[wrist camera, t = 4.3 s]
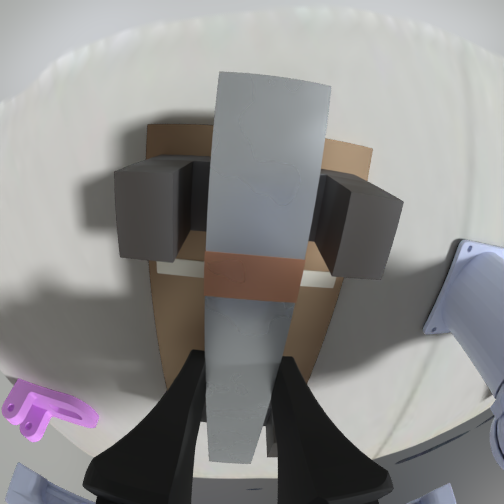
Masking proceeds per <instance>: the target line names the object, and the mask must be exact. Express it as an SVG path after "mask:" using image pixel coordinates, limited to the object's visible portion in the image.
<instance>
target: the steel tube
mask: <svg viewBox="0 0 504 504" xmlns="http://www.w3.org/2000/svg"><path fill="white" fill-rule="evenodd" d="M330 95H331V86H328V85H324V84H319V83H314V82H309V81H303V80H297V79H291V78H284V77H277V76H269V75H260V74H250V73H236V72H219V79H218V88H217V97H216V106H215V116H214V127H213V138H212V150H211V163H210V177H209V193H208V211H207V232H206V249H205V256H204V296H205V361H206V414H207V434H208V450H209V461H212V462H224V463H240V464H251V461H252V458H253V455H254V452H255V449H256V446H257V443H258V440H259V436H260V433H261V430H262V427H263V423H264V420H265V417H266V413H267V410H268V407H269V403H270V400H271V394H272V391H273V387H274V383H275V380H276V376H277V372H278V369H279V365H280V363H281V359H282V355H283V352H284V348H285V344H286V340H287V336H288V331H289V327H290V323H291V319H292V315H293V310H294V306H295V303H296V302H297V298H298V293H299V289H300V284H301V280H302V275H303V271H304V266H305V261H306V260H305V255H306V250H307V245H308V240H309V234H310V229H311V224H312V218H313V213H314V207H315V201H316V195H317V189H318V183H319V177H320V171H321V164H322V157H323V150H324V143H325V136H326V128H327V120H328V112H329V104H330Z"/></svg>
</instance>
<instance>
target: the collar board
mask: <svg viewBox="0 0 504 504" xmlns="http://www.w3.org/2000/svg"><path fill="white" fill-rule="evenodd" d="M213 127H214V125H196V124H148V125H147V144H146V160H144V161H141V162H138V163H136V164H133V165H130V166H128V167H125V168H123V169H120V170H118V171H115V172H114V179H115V205H116V221H117V233H118V243H119V252H120V257H122V258H131V259H141V260H149V272H150V283H151V293H152V301H153V310H154V317H155V325H156V332H157V338H158V344H159V350H160V356H161V362H162V367H163V373H164V378H165V383H166V387H167V390H168V389H169V387H170V386H171V384H172V383H173V381H174V380H175V378H176V377H177V375H178V374H179V372H180V370H181V369H182V367H183V365H184V363H185V361H186V359H187V357H188V355H189V353H190V351H191V350H193V349H194V350H203V351H205V296H204V256H205V249H206V232H207V211H208V193H209V177H210V163H211V150H212V138H213ZM372 151H373V149H372V148H368V147H364V146H360V145H355V144H351V143H346V142H341V141H336V140H331V139H326V138H325V143H324V150H323V157H322V164H321V171H320V177H319V183H318V189H317V195H316V201H315V207H314V213H313V218H312V224H311V229H310V234H309V240H308V245H307V250H306V255H305V260H306V261H305V266H304V271H303V275H302V280H301V284H300V289H299V293H298V298H297V302H296V303H295V306H294V310H293V315H292V319H291V323H290V327H289V331H288V336H287V340H286V344H285V348H284V352H283V355H282V356H292V357H293V358H294V360H295V362H296V364H297V366H298V368H299V370H300V372H301V374H302V376H303V378H304V380H305V382H306V384H307V382H308V380H309V378H310V375H311V372H312V370H313V367H314V365H315V362H316V360H317V357H318V354H319V352H320V349H321V346H322V343H323V341H324V338H325V335H326V332H327V329H328V326H329V323H330V320H331V317H332V314H333V311H334V308H335V305H336V302H337V299H338V296H339V292H340V289H341V286H342V282H343V279H344V277H346V278H360V279H376V280H381V278H382V275H383V272H384V269H385V266H386V263H387V260H388V257H389V254H390V250H391V247H392V244H393V240H394V237H395V233H396V230H397V226H398V222H399V219H400V215H401V211H402V207H403V203H404V202H403V201H402V200H400V199H398V198H397V197H395V196H393V195H391V194H390V193H388V192H386V191H384V190H382V189H381V188H379V187H377V186H375V185H373V184H371V183H370V182H368V181H367V179H368V174H369V168H370V163H371V157H372ZM201 422H207V414H206V397H205V403H204V408H203V412H202V417H201ZM263 426H266V442H267V457H278V451H277V442H276V434H275V427H274V420H273V413H272V405H271V400H270V403H269V407H268V410H267V413H266V417H265V420H264V423H263Z"/></svg>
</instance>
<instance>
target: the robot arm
mask: <svg viewBox="0 0 504 504" xmlns="http://www.w3.org/2000/svg"><path fill="white" fill-rule="evenodd" d="M423 332H424V333H425V334H438V333H448V332H451V333H452V334H453V336H454V337H455V338H456V340H457V341H458V342H459V344H460V345H461V347H462V348H463V350H464V351H465V352H466V354H467V355H468V357H469V358H470V360H471V361H472V363H473V364H474V366H475V367H476V369H477V370H478V372H479V373H480V375H481V376H482V378H483V380H484V381H485V383H486V384H487V386H488V388H489V389H490V391H491V393H492V394H493V396H494V398H495V399H496V400H495V402H494V403H493V405H492V406H491V407H490V409H491V410H492V412H493V414H494V416H495V417H494V419H493V422H492V425H491V429H490V444H491V449H492V453H493V455H494V458H495V460H496V462H497V464H498V465H499V466H500V467H501V468H502V469H503V470H504V248H503V247H498V246H494V245H489V244H485V243H480V242H475V241H470V240H462V241H461V242H460V243H459V245H458V248H457V251H456V254H455V257H454V260H453V262H452V265H451V267H450V270H449V273H448V275H447V278H446V280H445V282H444V285H443V287H442V289H441V292H440V294H439V296H438V298H437V301H436V303H435V305H434V307H433V309H432V311H431V313H430V315H429V317H428V319H427V321H426V323H425V325H424V327H423ZM205 397H206V361H205V351H203V350H194V349H193V350H191V351H190V353H189V355H188V357H187V359H186V361H185V363H184V365H183V367H182V369H181V370H180V372H179V374H178V375H177V377H176V378H175V380H174V381H173V383H172V384H171V386H170V387H169V389H168V390H167V391H166V393H165V394H164V395H163V397H162V398H161V399H160V401H159V402H158V403H157V404H156V406H155V407H154V408H153V409H152V410H151V411H150V412H149V414H148V415H147V416H146V417H145V418H144V419H143V420H142V421H141V422H140V423H139V424H138V425H137V426H136V427H135V428H134V429H132V430H131V431H130V432H129V433H128V434H127V435H125V436H124V437H123V438H122V439H120V440H119V441H118V442H117V443H115V444H114V445H113V446H111V447H110V448H108V449H107V450H105V451H104V452H102V453H101V454H99V455H98V456H96V457H94V458H93V459H92V461H91V463H90V464H89V466H88V469H87V471H86V474H85V477H84V481H83V487H84V488H85V489H86V490H88V491H89V492H91V493H93V494H94V495H96V496H97V499H96V503H95V502H93V501H90V500H88V499H85V498H83V497H80V496H78V495H76V494H74V493H71V492H69V491H67V490H65V489H63V488H61V487H59V486H57V485H55V484H53V483H51V482H49V481H48V480H47V479H45V478H44V477H42V476H41V475H39V474H38V473H36V472H34V471H33V470H31V469H29V468H27V467H26V466H24V465H23V464H21V463H20V462H18V463H17V465H16V468H15V471H14V474H13V477H12V479H11V482H10V485H9V488H8V492H7V495H6V498H5V501H6V502H7V503H8V504H191V494H192V493H191V492H192V478H193V466H194V455H195V446H196V440H197V435H198V431H199V426H200V422H201V417H202V412H203V408H204V403H205ZM271 405H272V413H273V420H274V427H275V434H276V442H277V451H278V504H379V502H378V499H380V498H382V497H383V496H385V495H387V494H388V493H390V492H392V490H393V489H394V488H393V484H392V480H391V477H390V475H389V473H388V471H387V470H386V469H384V468H383V467H381V466H379V465H378V464H377V463H375V462H374V461H373V460H371V459H370V458H369V457H367V456H366V455H365V454H364V453H362V452H361V451H360V450H359V449H358V448H357V447H356V446H355V445H354V444H353V443H351V442H350V441H349V440H348V439H347V438H346V437H345V436H344V435H343V434H342V432H341V431H340V430H339V429H338V428H337V427H336V426H335V425H334V423H333V422H332V421H331V420H330V418H329V417H328V416H327V414H326V413H325V412H324V410H323V409H322V408H321V406H320V405H319V403H318V402H317V400H316V399H315V397H314V395H313V394H312V392H311V390H310V389H309V387H308V385H307V384H306V382H305V380H304V378H303V376H302V374H301V372H300V370H299V368H298V366H297V364H296V362H295V360H294V358H293V357H292V356H282V359H281V363H280V365H279V369H278V372H277V376H276V380H275V383H274V387H273V391H272V394H271ZM406 504H457V503H456V500H455V497H454V493H453V491H452V487H451V484H450V483H448V484H446V485H444V486H442V487H440V488H437V489H435V490H433V491H431V492H429V493H427V494H425V495H424V496H422V497H421V498H418V499H416V500H413V501H411V502H408V503H406Z"/></svg>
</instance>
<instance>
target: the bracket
mask: <svg viewBox="0 0 504 504" xmlns="http://www.w3.org/2000/svg"><path fill="white" fill-rule="evenodd" d="M2 414H3V416H4V417H5V418H6V419H7V420H8V421H9V422H10V423H11V424H13V425H18V424H20V432H21V433H22V435H23V436H25V437H26V438H27V439H28V440H29V441H31V442H37V441H39V440H40V439H41V438H42V436H43V434H44V432H45V430H46V427H47V425H48V423H49V421H50V419H51V417H57V418H59V419H62V420H65V421H68V422H71V423H74V424H78V425H81V426H84V427H88V428H95V427H96V425H97V422H98V419H99V416H98V414H97V413H96V411H95V410H94V409H92V408H91V407H90V406H89V405H87V404H86V403H85V402H83V401H81V400H80V399H78V398H76V397H74V396H71V395H68V394H64V393H61V392H57V391H54V390H51V389H48V388H44V387H41V386H38V385H35V384H32V383H30V382H27V381H24V380H21V379H19V378H18V380H17V381H16V383H15V385H14V386H13V388H12V390H11V392H10V393H9V395H8V397H7V398H6V400H5V402H4V404H3V406H2Z"/></svg>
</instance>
